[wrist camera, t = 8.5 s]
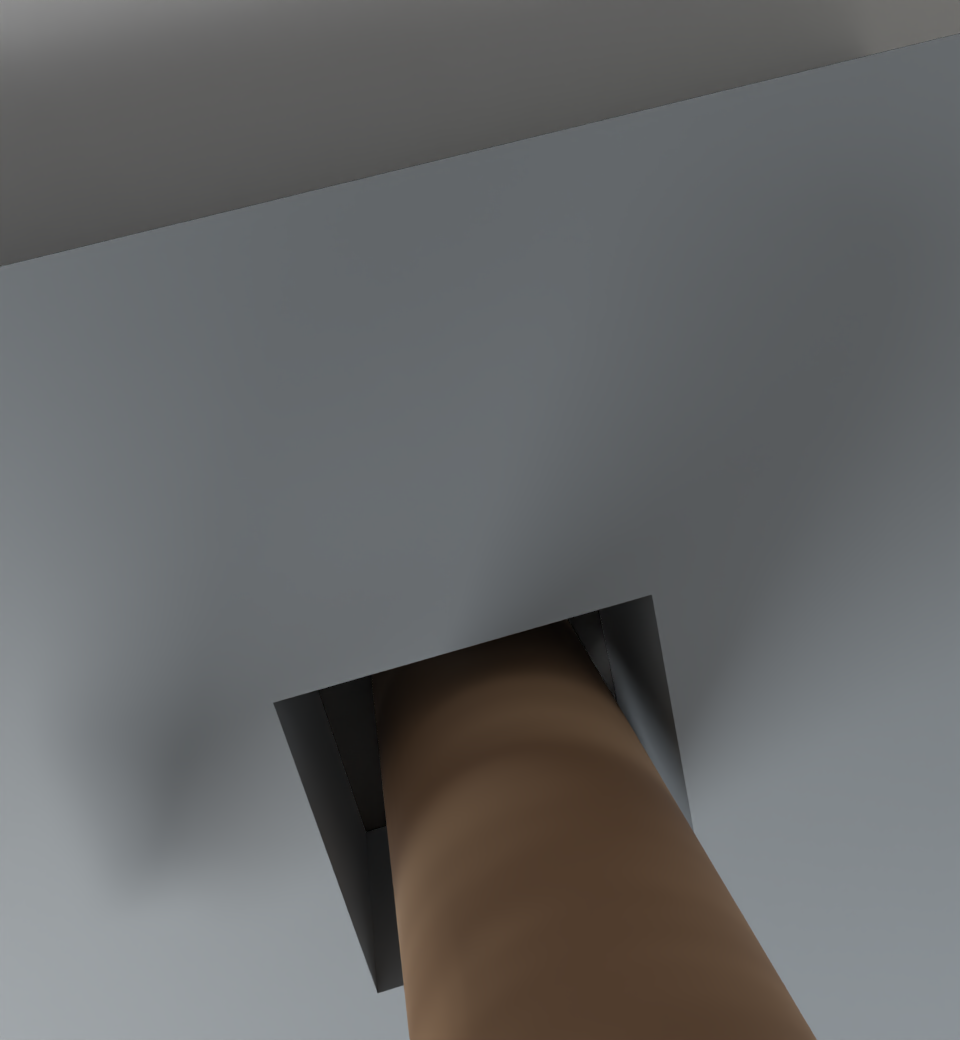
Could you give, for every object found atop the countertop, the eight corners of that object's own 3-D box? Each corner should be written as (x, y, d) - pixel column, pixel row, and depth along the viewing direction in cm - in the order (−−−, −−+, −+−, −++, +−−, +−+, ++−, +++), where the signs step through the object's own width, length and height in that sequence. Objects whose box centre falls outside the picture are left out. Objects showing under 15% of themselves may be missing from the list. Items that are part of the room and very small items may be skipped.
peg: (398, 783, 18) (526, 1730, 7) (347, 604, 17) (404, 1426, 5) (592, 730, 18) (1015, 1549, 7) (558, 550, 17) (1019, 1221, 6)
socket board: (163, 1140, 20) (127, 1356, 16) (-252, 331, 14) (-467, 380, 10) (926, 897, 21) (1054, 1043, 18) (870, 58, 15) (1052, 11, 11)
